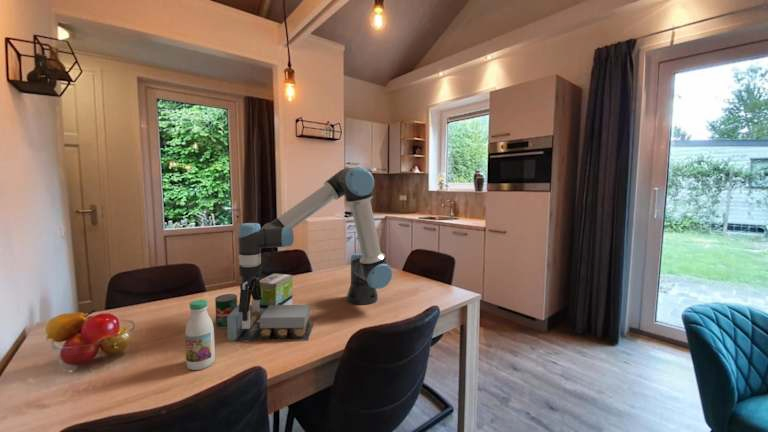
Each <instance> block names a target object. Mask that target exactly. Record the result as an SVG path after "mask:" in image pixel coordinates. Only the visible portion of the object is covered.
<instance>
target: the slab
mask: <svg viewBox="0 0 768 432" xmlns="http://www.w3.org/2000/svg"><path fill="white" fill-rule="evenodd" d="M309 317H311V305H310V304H292V305H269V306H268V308H267V309H266V310H265V311H264V313H263V314H262V315H261V317H260V318H259V322H260V328H305V326H306V323H307V321H308V318H309Z"/></svg>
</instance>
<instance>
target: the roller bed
mask: <svg viewBox="0 0 768 432" xmlns="http://www.w3.org/2000/svg"><path fill="white" fill-rule="evenodd" d="M310 320H311V316H309V318H308V321H307V323H306V326H305V328H260V321H257V322H256V324H255V325H254V326H253V328H252V329H251V330H246V329H245V330H244V331H243V332H242V333H241V334H240V336H239V337H238V338H237V339H235V340H233V341H234V342H258V341H259V342H264V341H266V342H270V341H273V342H274V341H276V342H277V341H309V339H310V336H311V333H312V329H313V328H314V325H315V321H310Z"/></svg>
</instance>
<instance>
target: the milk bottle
mask: <svg viewBox="0 0 768 432" xmlns="http://www.w3.org/2000/svg"><path fill="white" fill-rule="evenodd" d="M189 308H190V309H189V310H190V316H189V319H188V321H187V323H186V326H185V335H184V337H185V338H184V339H185V361H186V362H185V363H186V368H187V369H188V370H189V371H200V370H204V369H207V368H209V367H210V366H212V365H213V364H214V362H215V361H216V354H215V353H216V351H215V350H216V349H215V347H216V344H215V330H214V323H213V320H212V318H211V317H210V315H209V313H208V300H206V299H197V300H193V301H191V302H190V303H189Z"/></svg>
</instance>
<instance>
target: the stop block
mask: <svg viewBox="0 0 768 432" xmlns="http://www.w3.org/2000/svg"><path fill="white" fill-rule="evenodd" d="M250 308H251V307H250V306H249V311H250V312H251V309H250ZM226 329H227V341H229V342H231V341H234V340H235V339H237V338H238V337H239V336H240V334H241V333H242V332H243V331H244V330H245V329H242V312H239V304H237V307H236V308H235V309H234V310H233V311H232V312H231V313H230V314H229V315H228V316H227V328H226Z"/></svg>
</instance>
